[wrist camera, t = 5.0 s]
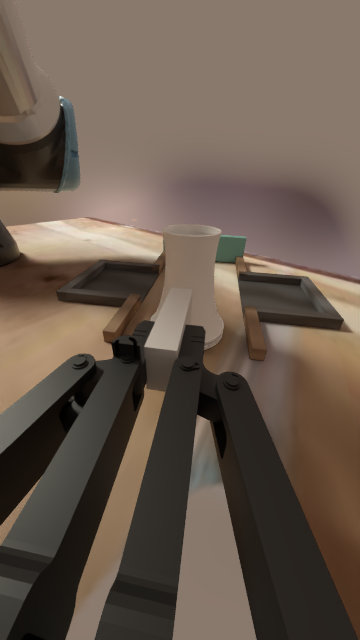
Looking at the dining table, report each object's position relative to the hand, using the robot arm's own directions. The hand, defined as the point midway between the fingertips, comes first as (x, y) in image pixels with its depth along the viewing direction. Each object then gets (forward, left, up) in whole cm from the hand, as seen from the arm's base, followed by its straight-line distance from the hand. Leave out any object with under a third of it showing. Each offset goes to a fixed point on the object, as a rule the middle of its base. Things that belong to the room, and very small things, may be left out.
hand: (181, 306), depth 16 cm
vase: (-5, +3, -6) cm, 9 cm away
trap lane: (-13, +7, -6) cm, 16 cm away
